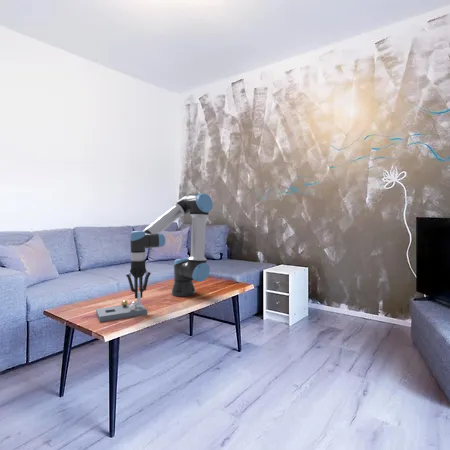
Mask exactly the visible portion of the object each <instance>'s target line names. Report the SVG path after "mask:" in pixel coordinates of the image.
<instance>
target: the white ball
mask: <svg viewBox="0 0 450 450" xmlns="http://www.w3.org/2000/svg"><path fill="white" fill-rule="evenodd" d="M130 304H131V303H130ZM135 308H136V307H135V305H134V304H131V305H130V306H129V309H130V310H131V311H133V310H135Z"/></svg>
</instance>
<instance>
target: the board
mask: <svg viewBox="0 0 450 450" xmlns="http://www.w3.org/2000/svg"><path fill="white" fill-rule="evenodd" d="M130 305H131V303H130V304H127V306H122V305H118V306H117V305H116V306H109V307H102V308H95V313H96V314H95V315H96V317H97V319H98V321H99V322H100V323H101V322H108V321H115V320H120V319H125V318H133V317H138V316H144V315H148V309H147V308H146V307H145V306H144V305H143V304H142V303H141V305H138V304H137V306H136V308H135V310H133V311H131V310H130V309H129V306H130Z"/></svg>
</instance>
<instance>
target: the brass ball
mask: <svg viewBox="0 0 450 450" xmlns="http://www.w3.org/2000/svg"><path fill="white" fill-rule="evenodd" d="M128 303H129V302H128V300H124V299H123V300H122V301H121V306H127V305H129V304H128Z"/></svg>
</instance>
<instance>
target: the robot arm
mask: <svg viewBox="0 0 450 450" xmlns="http://www.w3.org/2000/svg"><path fill="white" fill-rule="evenodd" d="M213 204H214V203H213V199H212V197H211V196H210V195H209V194H207V193H203V192H201V193H200V192H199V193H189V194H186V195H183V196H182V197H181V198H179V199H177V201H176V202H174V203H173V204H172V207H171V208H170V209H168V210H167V211H165V213H163V214H162V215H161V216H159V217H158V218H157V219H155V221H154V222H152V223H151V224H149V225H148V226H147V227H145V228H144V229H143V230H132V231H131V232H130V237H129V240H130V242H129V243H130V270H129V272H128V273H125V277H126V278H127V280H128V284H129V288H130V291H131V292H132V293H134V299H136V302H137V304H138V305H141V304H142V302H141V301H142V298H143V292H144V291H146V290H147V287H148V282H149V277H150V276H151V271H148V270H147V268H146V249H150V248H151V249H152V248H154V249H155V248H162V247H164V246H165V244H166V237H165V235H164V234H163V233H162V232H163V231H165V230H166V229H167V228H168V227H169V226H170V225H172V224H173V223H175V221H176V220H178V219H179V218H180V217H184V216H185V215H186V214H189V216H190V217H191V232H190V233H191V238H190V240H191V241H190V256H189V257H186V258H176V259H175V260H173V261H174V262H173V275H174V276H173V280H174V282H173V285H172V287H171V288H172V289H171V296H174V297H189V296H193V295H195V294H196V289H195V286H194V283H193V281H194V282H204V281H206V280H207V279H208V277H209V275H210V272H211V268H210V266H209V264H208V263H207V260H208V259H207V258H206V257H205V251H206V249H205V248H206V228H207V227H206V225H207V218H208V217H209V212H211V211H212V209H213V207H214V205H213ZM132 276H133V280H132ZM144 276H145V277H144ZM143 279H144V281H143ZM133 283H134V284H133ZM138 287H139V288H138ZM138 290H139V291H138Z"/></svg>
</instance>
